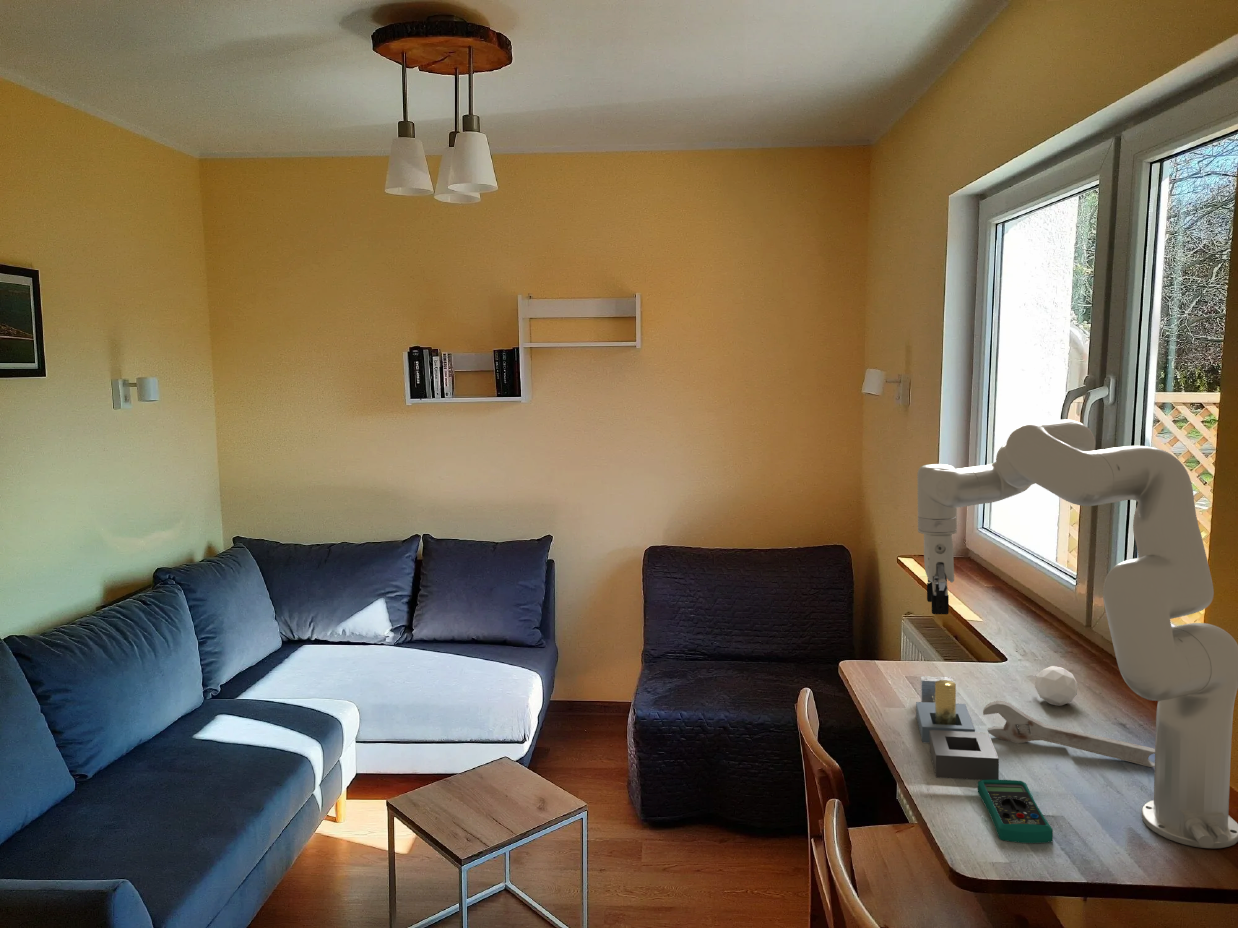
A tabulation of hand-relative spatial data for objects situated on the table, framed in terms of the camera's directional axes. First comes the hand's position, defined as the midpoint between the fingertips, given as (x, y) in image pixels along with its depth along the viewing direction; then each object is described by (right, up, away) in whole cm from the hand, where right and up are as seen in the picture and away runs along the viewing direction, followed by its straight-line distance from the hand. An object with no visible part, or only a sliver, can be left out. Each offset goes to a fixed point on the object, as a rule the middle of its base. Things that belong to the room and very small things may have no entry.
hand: (937, 607), depth 182 cm
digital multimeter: (-4, -27, -43) cm, 51 cm away
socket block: (-4, -22, -14) cm, 26 cm away
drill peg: (-4, -21, -16) cm, 27 cm away
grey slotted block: (-6, -24, -28) cm, 37 cm away
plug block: (-2, -21, -5) cm, 21 cm away
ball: (+23, -19, -2) cm, 31 cm away
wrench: (+15, -23, -24) cm, 36 cm away
